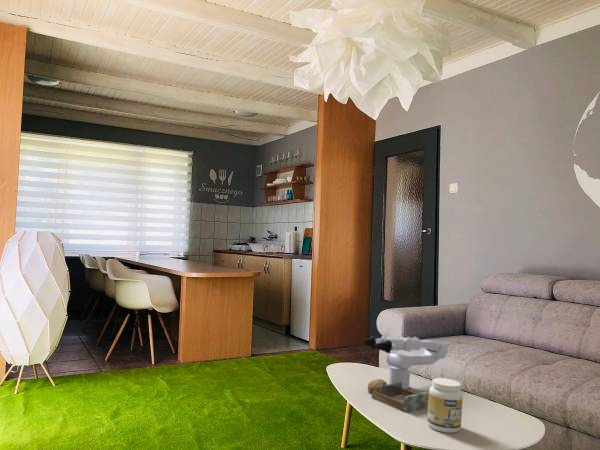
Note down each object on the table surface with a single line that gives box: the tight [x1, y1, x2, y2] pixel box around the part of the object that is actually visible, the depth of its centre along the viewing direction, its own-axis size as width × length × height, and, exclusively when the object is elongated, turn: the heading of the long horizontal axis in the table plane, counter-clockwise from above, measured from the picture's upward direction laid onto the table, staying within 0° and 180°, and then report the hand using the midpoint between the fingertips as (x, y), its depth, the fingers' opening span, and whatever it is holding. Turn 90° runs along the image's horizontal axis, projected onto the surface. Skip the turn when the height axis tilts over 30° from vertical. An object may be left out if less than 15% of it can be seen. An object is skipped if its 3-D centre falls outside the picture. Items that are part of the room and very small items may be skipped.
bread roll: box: [367, 378, 389, 396], centre depth 218 cm, size 10×10×8 cm
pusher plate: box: [380, 382, 402, 398], centre depth 213 cm, size 13×1×6 cm, turn 127°
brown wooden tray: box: [371, 388, 429, 413], centre depth 208 cm, size 16×19×6 cm
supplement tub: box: [426, 377, 464, 434], centre depth 182 cm, size 12×12×17 cm
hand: (370, 344), depth 217 cm, fingers open, 7 cm apart
